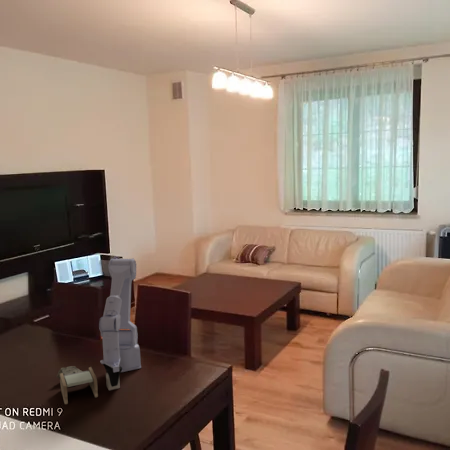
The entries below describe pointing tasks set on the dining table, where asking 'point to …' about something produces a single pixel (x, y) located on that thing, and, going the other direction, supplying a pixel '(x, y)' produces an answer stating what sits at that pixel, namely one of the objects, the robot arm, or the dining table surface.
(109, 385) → the plain off-white cube
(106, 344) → the robot arm
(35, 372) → the dining table surface
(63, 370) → the rock sample
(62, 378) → the tan piece
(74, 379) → the pale grey slab
